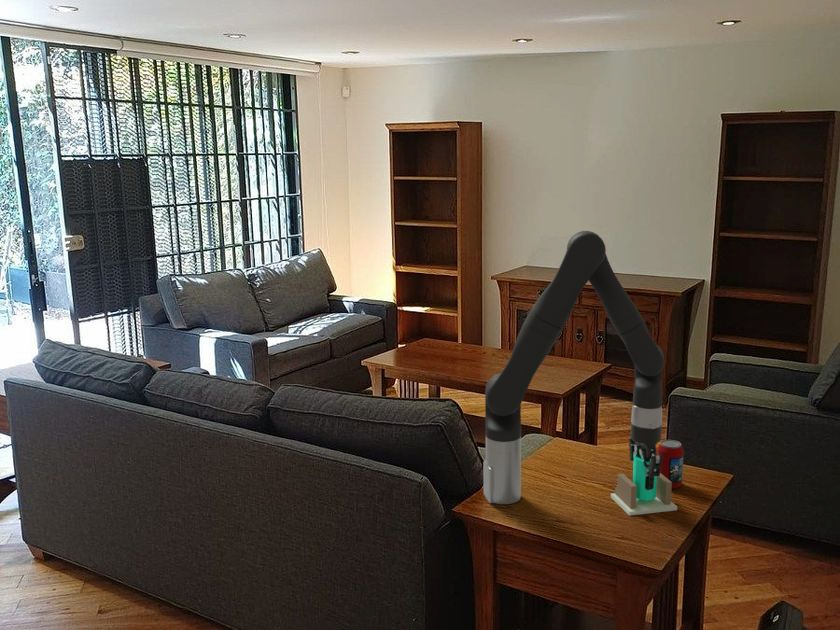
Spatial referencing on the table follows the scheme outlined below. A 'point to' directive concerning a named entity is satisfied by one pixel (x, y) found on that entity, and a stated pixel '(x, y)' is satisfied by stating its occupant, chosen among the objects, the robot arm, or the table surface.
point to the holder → (634, 506)
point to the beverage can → (672, 461)
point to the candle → (642, 480)
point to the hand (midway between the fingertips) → (643, 484)
